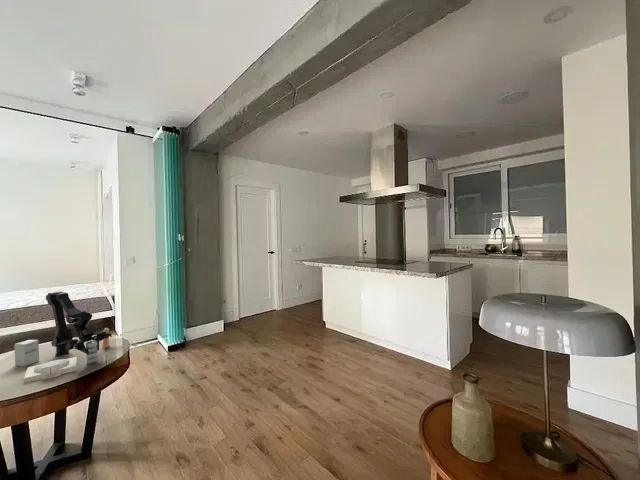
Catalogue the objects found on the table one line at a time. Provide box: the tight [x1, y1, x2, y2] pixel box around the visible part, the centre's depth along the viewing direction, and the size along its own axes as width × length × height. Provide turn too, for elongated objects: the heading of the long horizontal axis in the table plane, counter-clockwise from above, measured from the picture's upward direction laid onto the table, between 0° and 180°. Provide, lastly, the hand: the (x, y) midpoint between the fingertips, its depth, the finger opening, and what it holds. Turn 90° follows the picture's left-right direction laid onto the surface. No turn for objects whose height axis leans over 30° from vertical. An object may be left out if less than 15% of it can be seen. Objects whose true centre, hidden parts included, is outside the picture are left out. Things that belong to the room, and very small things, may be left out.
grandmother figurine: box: [99, 327, 113, 350], centre depth 188 cm, size 8×4×13 cm, turn 170°
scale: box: [23, 356, 78, 384], centre depth 155 cm, size 18×20×6 cm
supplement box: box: [14, 339, 40, 367], centre depth 166 cm, size 7×7×13 cm
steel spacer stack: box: [85, 340, 99, 366], centre depth 165 cm, size 5×5×12 cm
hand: (93, 352), depth 164 cm, fingers closed on steel spacer stack, 5 cm apart
